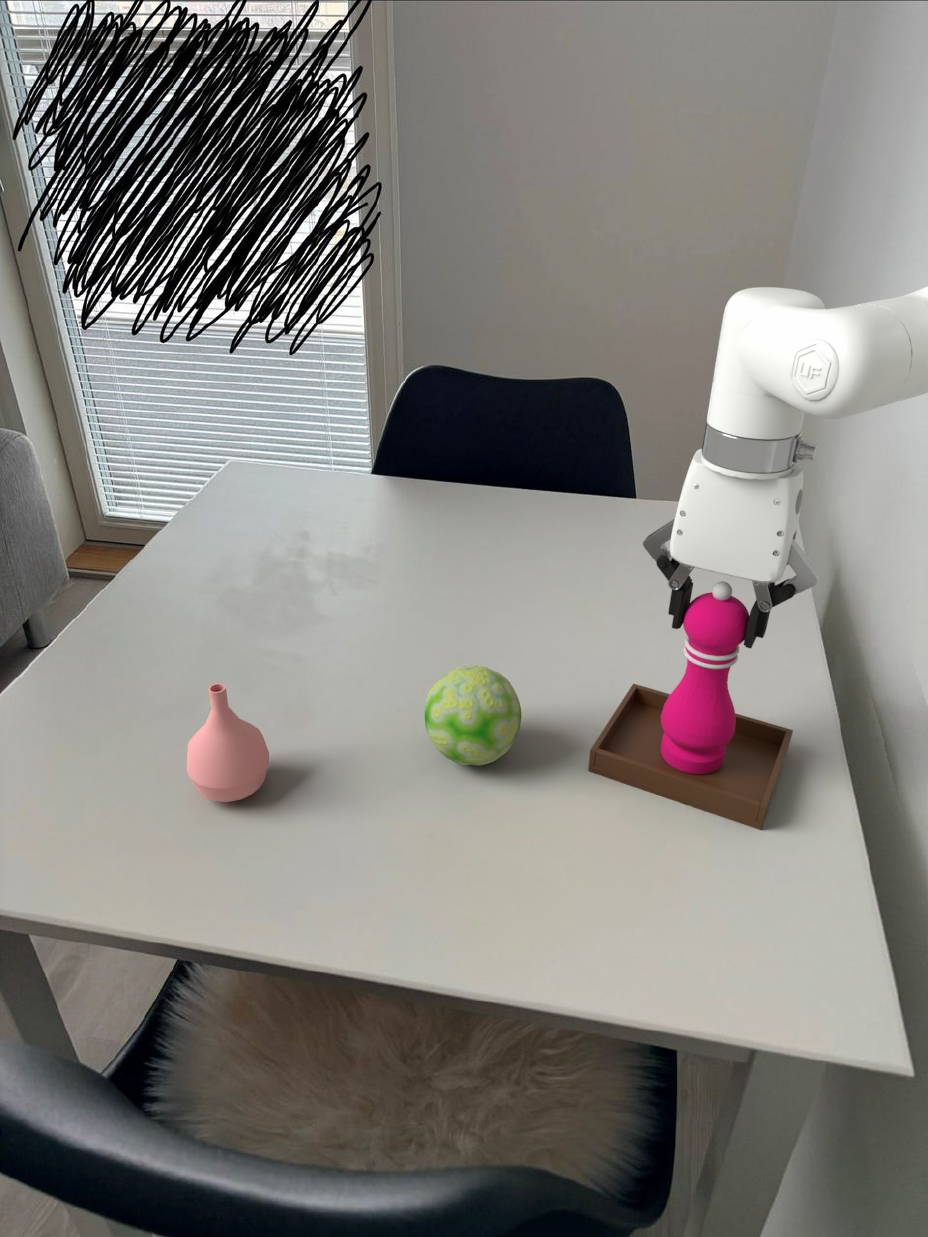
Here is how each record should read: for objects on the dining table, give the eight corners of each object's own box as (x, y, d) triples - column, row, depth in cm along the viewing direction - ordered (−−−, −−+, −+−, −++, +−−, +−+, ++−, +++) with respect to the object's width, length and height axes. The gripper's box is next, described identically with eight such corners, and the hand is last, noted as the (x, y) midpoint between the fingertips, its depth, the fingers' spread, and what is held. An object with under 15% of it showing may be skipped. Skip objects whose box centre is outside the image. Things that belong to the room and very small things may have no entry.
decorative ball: (405, 747, 91) (403, 667, 86) (481, 714, 96) (483, 637, 91) (461, 800, 84) (463, 717, 79) (540, 761, 89) (546, 681, 84)
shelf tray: (787, 751, 92) (793, 730, 90) (761, 830, 81) (766, 807, 80) (630, 703, 98) (633, 683, 97) (587, 771, 88) (590, 749, 87)
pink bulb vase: (195, 767, 88) (177, 668, 82) (272, 759, 89) (261, 661, 83) (188, 821, 81) (168, 717, 75) (271, 812, 83) (259, 709, 76)
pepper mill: (727, 740, 92) (763, 570, 82) (728, 784, 86) (766, 606, 76) (657, 728, 93) (684, 560, 83) (653, 771, 87) (681, 595, 77)
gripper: (864, 451, 72) (817, 637, 81) (661, 418, 79) (638, 593, 88) (853, 481, 67) (802, 677, 76) (635, 442, 73) (613, 626, 83)
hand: (714, 630), depth 82 cm, fingers closed on pepper mill, 6 cm apart
